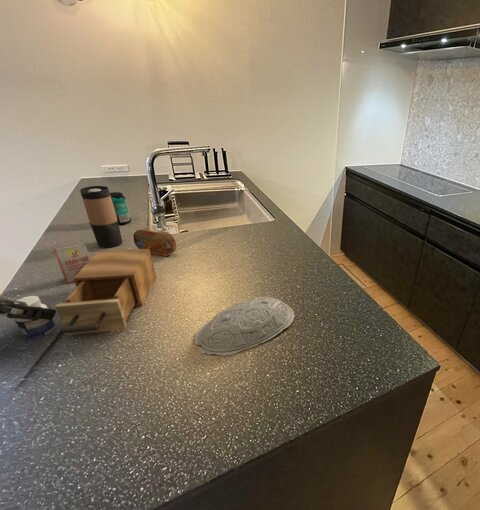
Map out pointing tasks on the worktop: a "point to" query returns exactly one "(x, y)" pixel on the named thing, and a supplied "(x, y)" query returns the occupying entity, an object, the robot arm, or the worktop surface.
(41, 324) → the pill bottle
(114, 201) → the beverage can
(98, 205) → the travel mug
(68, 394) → the worktop surface
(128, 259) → the cabinet
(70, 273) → the white cardboard box
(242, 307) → the turtle shell
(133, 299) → the drawer
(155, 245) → the tin
